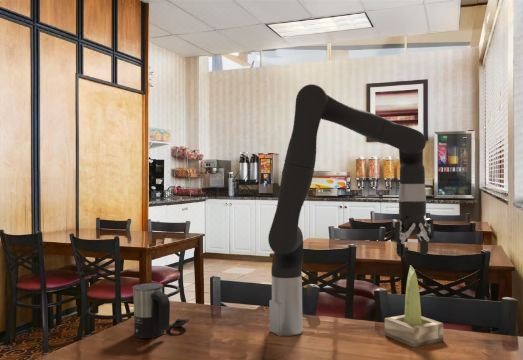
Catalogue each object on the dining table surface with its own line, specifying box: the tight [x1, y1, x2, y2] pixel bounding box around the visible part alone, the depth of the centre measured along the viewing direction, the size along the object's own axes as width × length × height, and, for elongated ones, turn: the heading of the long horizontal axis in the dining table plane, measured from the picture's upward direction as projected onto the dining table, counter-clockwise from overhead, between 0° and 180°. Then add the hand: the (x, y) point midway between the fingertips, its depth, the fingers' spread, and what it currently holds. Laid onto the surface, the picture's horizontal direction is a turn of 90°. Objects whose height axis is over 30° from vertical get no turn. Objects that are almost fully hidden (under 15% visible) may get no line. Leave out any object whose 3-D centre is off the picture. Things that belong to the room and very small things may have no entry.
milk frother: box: [132, 282, 190, 339], centre depth 154 cm, size 14×16×15 cm
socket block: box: [384, 314, 444, 348], centre depth 144 cm, size 11×12×5 cm
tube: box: [404, 265, 422, 326], centre depth 144 cm, size 6×5×20 cm
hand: (412, 255), depth 144 cm, fingers open, 8 cm apart
